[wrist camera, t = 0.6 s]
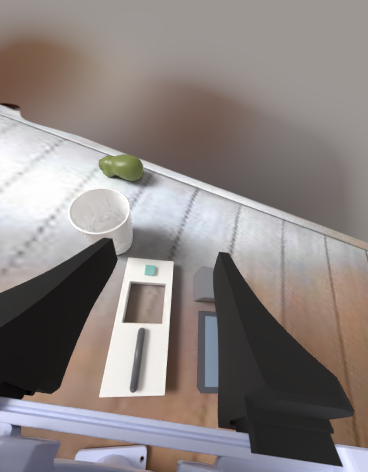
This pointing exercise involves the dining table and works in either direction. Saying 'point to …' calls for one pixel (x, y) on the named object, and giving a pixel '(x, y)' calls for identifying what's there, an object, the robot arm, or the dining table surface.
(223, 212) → the dining table surface
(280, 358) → the robot arm
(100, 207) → the white cup
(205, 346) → the phone
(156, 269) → the white flat block
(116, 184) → the dining table surface
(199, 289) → the plug
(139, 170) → the pear
